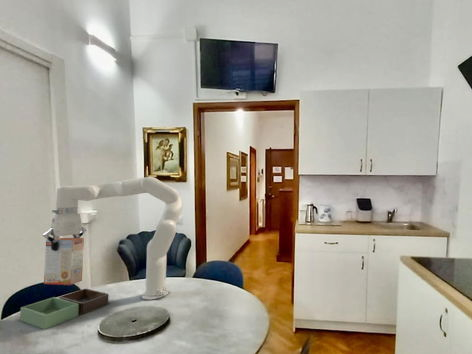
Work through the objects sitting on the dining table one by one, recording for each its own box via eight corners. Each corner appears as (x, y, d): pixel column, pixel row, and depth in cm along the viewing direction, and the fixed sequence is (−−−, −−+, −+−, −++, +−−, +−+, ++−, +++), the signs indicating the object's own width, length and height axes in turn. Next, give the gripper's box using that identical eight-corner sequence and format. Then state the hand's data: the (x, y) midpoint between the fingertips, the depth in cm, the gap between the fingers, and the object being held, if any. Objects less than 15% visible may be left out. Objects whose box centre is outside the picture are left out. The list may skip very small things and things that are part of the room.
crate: (109, 303, 128) (109, 293, 128) (81, 314, 117) (82, 303, 117) (85, 297, 135) (85, 288, 135) (57, 307, 124) (58, 297, 124)
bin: (78, 316, 116) (78, 303, 116) (44, 329, 105) (45, 315, 105) (53, 308, 123) (54, 296, 123) (19, 320, 112) (20, 307, 112)
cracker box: (83, 280, 121) (84, 237, 122) (69, 285, 115) (71, 240, 116) (57, 279, 122) (59, 236, 123) (43, 284, 116) (45, 239, 117)
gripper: (47, 213, 110) (44, 254, 110) (92, 210, 127) (91, 245, 126) (37, 212, 113) (35, 252, 112) (83, 209, 129) (82, 244, 129)
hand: (65, 248), depth 119 cm, fingers closed on cracker box, 6 cm apart
